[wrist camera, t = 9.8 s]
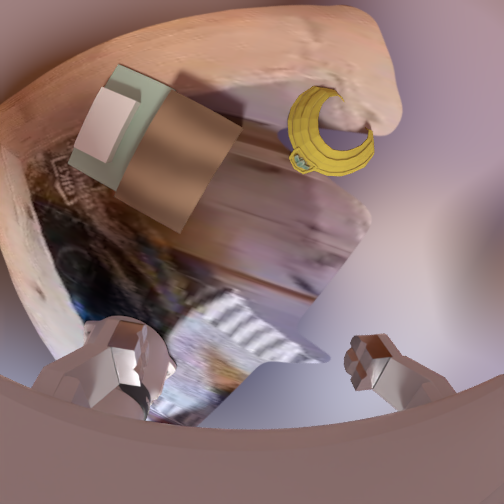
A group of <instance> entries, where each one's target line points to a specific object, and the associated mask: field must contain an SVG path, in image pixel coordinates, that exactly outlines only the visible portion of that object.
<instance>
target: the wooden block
mask: <svg viewBox="0 0 504 504" xmlns="http://www.w3.org/2000/svg"><path fill="white" fill-rule="evenodd" d="M242 130H243V128H242V127H240V126H238V125H237V124H235V123H233V122H232V121H230V120H228V119H226V118H225V117H223V116H221V115H219V114H217V113H216V112H214V111H212V110H210V109H208V108H207V107H205V106H203V105H201V104H199V103H197V102H195V101H193V100H191V99H189V98H188V97H186V96H184V95H182V94H180V93H178V92H176V91H174V90H172V89H171V91H170V92H169V94H168V96H167V97H166V99H165V100H164V102H163V103H162V105H161V107H160V108H159V110H158V112H157V113H156V115H155V117H154V118H153V120H152V122H151V123H150V125H149V127H148V129H147V130H146V132H145V134H144V136H143V138H142V140H141V141H140V143H139V145H138V147H137V149H136V151H135V153H134V155H133V157H132V159H131V161H130V163H129V165H128V167H127V169H126V171H125V173H124V175H123V177H122V179H121V181H120V183H119V186H118V188H117V190H116V192H115V195H114V197H115V198H117V199H119V200H120V201H122V202H124V203H126V204H127V205H129V206H131V207H133V208H135V209H136V210H138V211H140V212H142V213H143V214H145V215H147V216H149V217H151V218H152V219H154V220H156V221H158V222H159V223H161V224H163V225H165V226H167V227H168V228H170V229H172V230H174V231H176V232H178V233H179V234H180V233H181V231H182V229H183V227H184V226H185V224H186V222H187V220H188V218H189V217H190V215H191V213H192V211H193V210H194V208H195V206H196V204H197V203H198V201H199V199H200V197H201V196H202V194H203V192H204V191H205V189H206V187H207V186H208V184H209V182H210V181H211V179H212V177H213V176H214V174H215V172H216V171H217V169H218V167H219V166H220V164H221V163H222V161H223V159H224V158H225V156H226V155H227V153H228V151H229V150H230V148H231V147H232V145H233V144H234V142H235V140H236V139H237V137H238V136H239V134H240V133H241V131H242Z"/></svg>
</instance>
